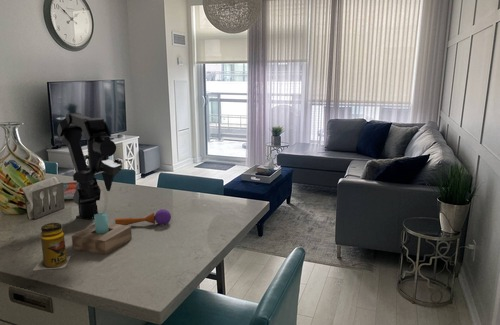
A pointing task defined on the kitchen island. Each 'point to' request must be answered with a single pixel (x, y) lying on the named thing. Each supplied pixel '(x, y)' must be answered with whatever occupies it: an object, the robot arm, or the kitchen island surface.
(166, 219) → the wooden maraca
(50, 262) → the condiment
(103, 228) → the pin
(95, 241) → the hole block
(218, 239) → the kitchen island surface
